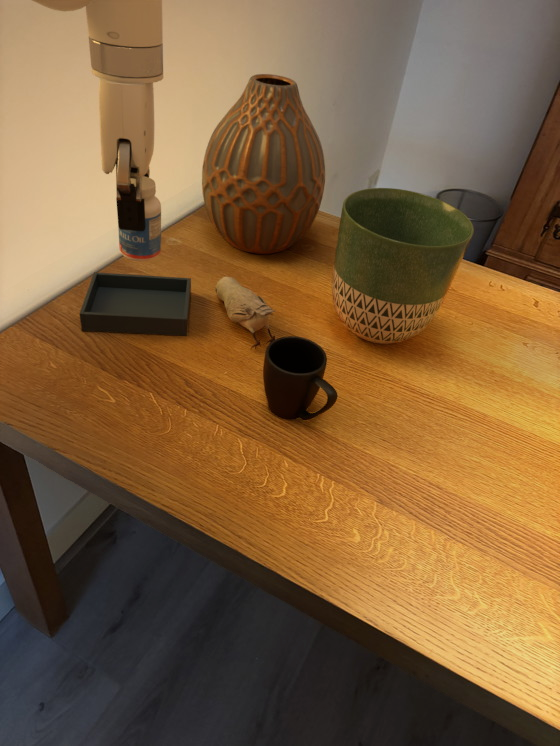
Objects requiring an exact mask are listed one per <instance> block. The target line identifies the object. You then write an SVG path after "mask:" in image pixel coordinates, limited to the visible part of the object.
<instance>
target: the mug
mask: <svg viewBox="0 0 560 746" xmlns="http://www.w3.org/2000/svg"><path fill="white" fill-rule="evenodd" d="M266 346H267V347H266V349H265V352H264V358H263V359H264V360H263V367H262V380H263V389H264V394H265V398H266V402H267V407H268V410H269V411H270V412H271V414H273V416H275V417H277V418H278V419H281V420H284V421H285V420H286V421H295V420H298V419H301V420H302V421H303V422H307V421H310V420H313V419H315V418H317V417H318V416H320V415H322V414H324V413H326V412H328V411H329V410H330V409H331V408H333V407H334V405H335V404H336V402H337V400H338V392H337V390H336V389H335V387H334V386H333V385H332V384H331V383H330V382H328V381H327V380H326V379H324V377H325V372H326V368H327V363H328V356H327V353H326V352H325V350H324V349H323V348H322V346H320V344H318V343H317V342H315V341H313V340H311V339H308V338H306V337H303V336H302V337H301V336H297V335H296V336H295V335H288V336H281V337H278V338H275V340H273V341H272V342H271V343H270V342H269V344H268V345H266ZM320 389H321V390H322V391H323V392H324V393H325V394H326V397H327V399H326V402H325V404H324V405H323V406H322V407H321V408H319V409H318V410H316V411H314V412H310V411H308V409H309V408H310V406H311V404H312V403H313V402H314V400H315V398H316V397H317V395H318V394H319V391H320Z"/></svg>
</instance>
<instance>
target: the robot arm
mask: <svg viewBox="0 0 560 746" xmlns="http://www.w3.org/2000/svg"><path fill="white" fill-rule="evenodd" d="M31 1H33V2H34V3H37V4H39V5H40V6H43V7H45V8H47V9H51V10H53V11H57V12H58V11H59V12H74V11H77V10H81V9H83V8H84V7H85V14H86V25H87V35H88V45H89V55H90V56H89V57H90V69H91V70H90V71H91V73H92V75H93V76H95V77H97V78H99V83H98V85H99V87H98V112H99V115H98V116H99V136H100V137H99V139H100V158H101V170H102V171H103V173H104V174H105V175H110V174H112V173H113V171H114V169H115V181H116V189H115V190H116V199H115V200H116V210H117V211H116V212H117V213H116V215H117V228H118V227H119V228H120V229H122V230H133V231H144V230H145V227H146V226H145V202H144V199H142V176H145V177H148V178H150V164H151V161H152V159H153V156H154V155H153V154H154V151H155V150H154V149H155V95H154V93H155V92H154V83H157V82H161V81H162V80H163V79H164V44H163V43H164V40H163V38H164V37H163V0H31ZM130 178H132V179H136V187H135V185H134V184H131V180H130Z"/></svg>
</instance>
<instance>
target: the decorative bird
mask: <svg viewBox="0 0 560 746" xmlns="http://www.w3.org/2000/svg"><path fill="white" fill-rule="evenodd" d="M215 293H216V298H217V299H218V300H219V301H223V302H224V308H225V310H226V313H227V317H228V318H229V320H230V321H231V322H235V323H238V324H239V325H240V326H242V327H243V328H245V329H247V330H248V331H249V332H251V334H252V337H253V339H254V341H255V344H253V345H252V346H251V347H250V350H252V349H253V348H254V347H255V348H254V349H255V350H257V347H262V343H261V339H257V337H256V333H255V332H257V331H260V330H261V329H263V328H266V329H267V332H268V335H269V337H270V339H269V340H267V342H265V345H267V344H268V343H269V344H270V343H271V342H272V341H273V340H275V339H276V334H274V335H272V333H271V329H270V325H269V320H270V316H274V314H273V313H276V312H277V311H276V310H274V309H273V308H272V307H270V305H268V304H267V302H266V301H265V299H264V298H263V297H262V296H260V295H257V294H256V293H255V292H254V291H252V290H251V289H249V288H247V287H244V286H243V285H242V284H240V283H239V281H238V280H237V279H236V278H234V277H232V276H226V275H225V276H222V277H221V278H219V280H217V283H216V285H215Z"/></svg>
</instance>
